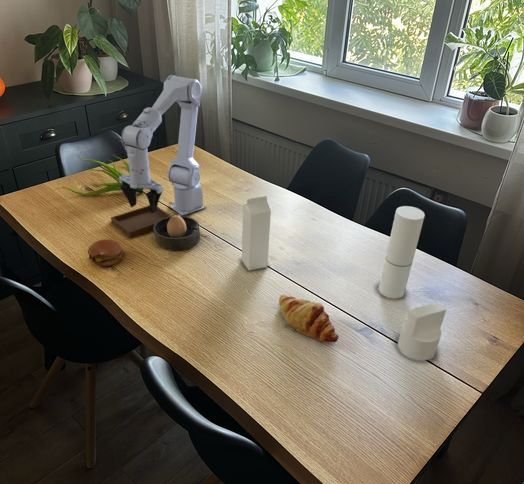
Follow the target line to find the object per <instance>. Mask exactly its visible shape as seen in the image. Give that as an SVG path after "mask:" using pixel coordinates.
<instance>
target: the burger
mask: <svg viewBox="0 0 524 484" xmlns="http://www.w3.org/2000/svg"><path fill="white" fill-rule="evenodd" d="M87 254H88V259H89V260H91V263H93V264H94V265H100V266H102V267H109V266H113V265H115V264H117V263H118V262H120V261H121V258H122V257H123V255H124V249H123V248H122V245H121V244H120V243H119V242H118V241H116V240H112V239H108V238H107V239H105V238H103V239H99V240H96V241H94V242H93V243H91V244H90V246H89V247H88V249H87Z"/></svg>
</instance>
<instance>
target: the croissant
mask: <svg viewBox="0 0 524 484" xmlns="http://www.w3.org/2000/svg"><path fill="white" fill-rule="evenodd" d="M278 303H279V305H280V311H281V314H282V316H283V318H284V319H285V322H286V323H287V326H288V327H291V328H293V329H294V330H295V331H296V332H298V333H299V334H301V335H303V336H306V337H310V338H313V339H315V340H318V341H320V342H324V343H336V342H338V340H339V335H338V334H337V333H336V330H335V326H334V325H333V323H332V322H331V321H330V315H329V314H328V313H327V312H326V311H325V306H324V305H323V304H322V303H321V302H314V301H310V300H307V299H303V298H299V299H298V298H297V297H294V296H287V295H284V294H282V295H280V297H279V299H278Z"/></svg>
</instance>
